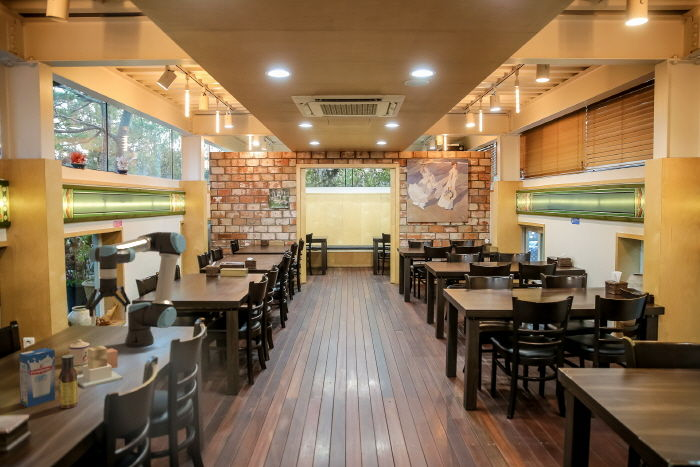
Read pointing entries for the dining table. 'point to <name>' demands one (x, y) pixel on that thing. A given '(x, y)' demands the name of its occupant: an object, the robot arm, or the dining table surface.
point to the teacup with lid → (79, 352)
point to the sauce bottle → (68, 383)
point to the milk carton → (37, 377)
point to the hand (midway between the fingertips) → (108, 321)
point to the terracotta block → (112, 357)
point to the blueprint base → (86, 383)
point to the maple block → (97, 357)
